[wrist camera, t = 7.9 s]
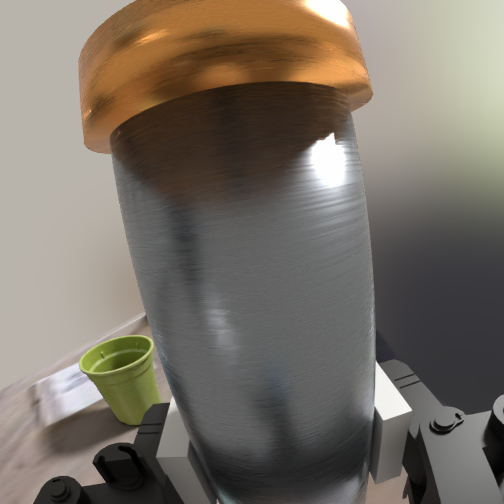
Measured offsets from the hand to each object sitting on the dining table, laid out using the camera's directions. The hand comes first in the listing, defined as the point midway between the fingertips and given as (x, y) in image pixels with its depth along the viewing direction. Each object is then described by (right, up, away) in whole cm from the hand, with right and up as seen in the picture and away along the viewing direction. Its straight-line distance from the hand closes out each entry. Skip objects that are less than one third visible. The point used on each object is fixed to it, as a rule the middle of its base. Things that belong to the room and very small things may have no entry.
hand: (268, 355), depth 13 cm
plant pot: (-15, -16, +22) cm, 31 cm away
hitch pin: (+2, -11, -3) cm, 11 cm away
